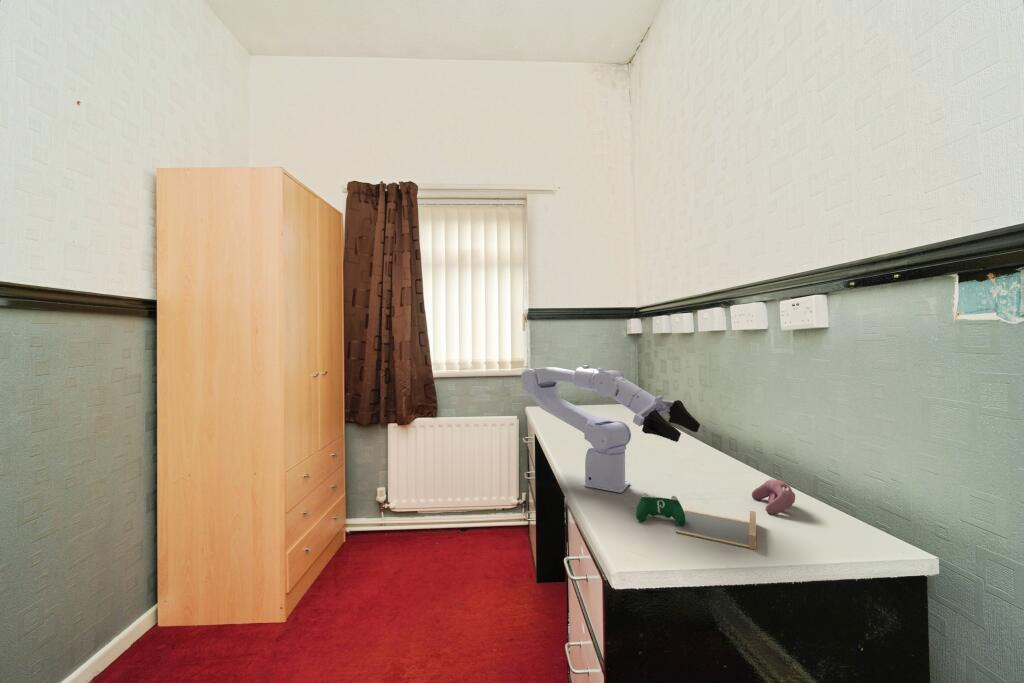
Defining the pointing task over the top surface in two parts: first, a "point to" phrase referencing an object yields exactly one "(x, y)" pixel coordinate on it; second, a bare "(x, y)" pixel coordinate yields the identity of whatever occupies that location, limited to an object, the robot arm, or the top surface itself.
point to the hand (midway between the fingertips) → (688, 433)
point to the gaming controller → (660, 508)
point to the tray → (720, 528)
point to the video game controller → (775, 495)
